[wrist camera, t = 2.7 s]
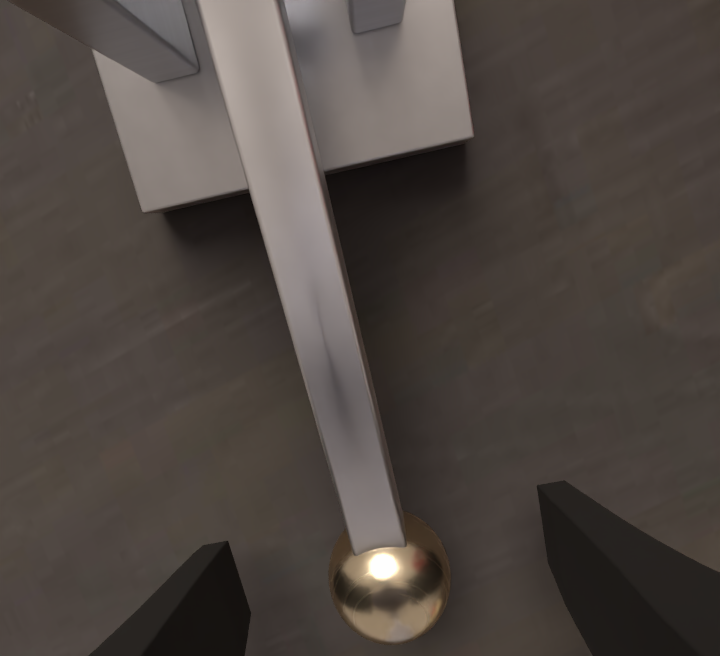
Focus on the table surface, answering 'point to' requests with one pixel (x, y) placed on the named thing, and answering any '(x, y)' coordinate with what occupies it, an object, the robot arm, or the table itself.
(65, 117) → the table surface
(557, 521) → the robot arm
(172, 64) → the bracket
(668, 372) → the table surface
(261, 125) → the lever
